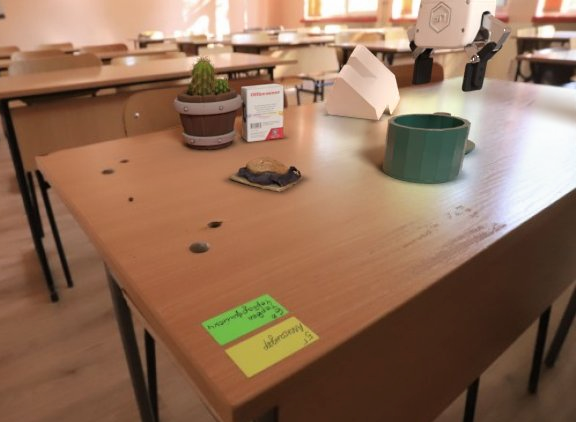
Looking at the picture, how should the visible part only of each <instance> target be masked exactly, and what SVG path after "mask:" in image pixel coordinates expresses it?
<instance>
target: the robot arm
mask: <svg viewBox="0 0 576 422" xmlns="http://www.w3.org/2000/svg"><path fill="white" fill-rule="evenodd" d="M497 2H498V1H497V0H420V2H419V6H418V7H419V8H418V12H417V16H416V17H417V18H416V23H415V24H414V25H413V26H411V27H410V28H408V29H407V31H406V35H407V38H408V43H409V44H408V47H409V49H410V51H411V53H412V54H411V57H412V59H413V60H414V63H413V70H412V71H413V72H412V80H411V84H412V85H414V86H418V85H423V84H424V85H425V84H429V83H430V82H431V80H432V74H433V66H434V57H433V56H432V54H434V52H435V51H436V49H438V50H439V49H441V50H460V49H464V51H465V54H466V55H467V57H468V59H469V61H470V62H466V63H465V67H464V72H463V78H462V84H461V91H462V92H464V93H469V92H470V93H471V92H476V91H481V90H482V89H483V86H484V81H485V77H486V71H487V67H488V62H490V61H492V60H493V59H494V57H495V55H496V54H497V53H498V52H499V51H501V49H503V44H504V43H506V40H507V39H508V37H509V36H510V34H511V33H512V27H511V26H509V25H508V24H507V23H505V22H504V21H502V20H500V19H499V18H497V17H496V10H497Z"/></svg>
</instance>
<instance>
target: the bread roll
mask: <svg viewBox="0 0 576 422" xmlns="http://www.w3.org/2000/svg"><path fill="white" fill-rule="evenodd" d="M229 180H233V181H235V182H239V183H242V184H245V185H249V186H250V187H256V188H260V189H262V190H265V189H266V190H271V191H273V192H279V193H281V192H285V191H286V190H287V189H290V188H291V187H293V186H294V185H297V184H298V183H299V182H301V181H303V180H304V177H303V175H302V174H301V171H300V170H299V169H298V168H297V167H295V166H293V165H291V166H290V167H288V166H287V165H286V164H284V163H283V162H281V161H280V160H279V159H277V158H274V157H270V156H260V157H257V158H254V159H253V160H250V161H248V162H247V163H246V164H245V166H243V167H239V168H238V171H237V172H235V173H232V174H231V175H230V177H229Z"/></svg>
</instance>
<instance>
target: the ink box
mask: <svg viewBox="0 0 576 422" xmlns="http://www.w3.org/2000/svg"><path fill="white" fill-rule="evenodd" d="M240 89H241V90H240V96H241V100H243V103H242V104H241V130H242V131H241V132H242V133H241V134H242V135H241V137H242V139H244V141H245V142H248V143H252V142H260V141H261V142H262V141H268V140H277V139H283V138H284V106H285V105H284V101H285V100H284V99H285V98H284V97H285V96H284V95H285V93H284V92H285V86H284V85H282V84H279V83H268V84H256V85H247V86H246V85H245V86H241V87H240Z"/></svg>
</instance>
